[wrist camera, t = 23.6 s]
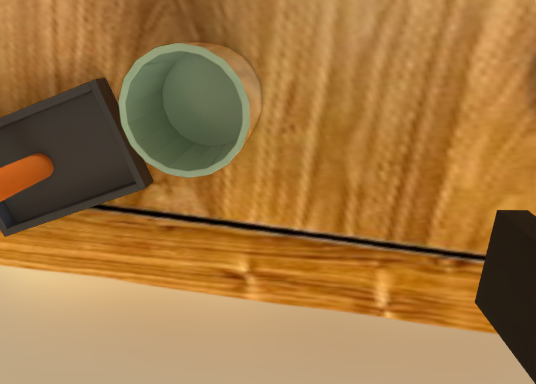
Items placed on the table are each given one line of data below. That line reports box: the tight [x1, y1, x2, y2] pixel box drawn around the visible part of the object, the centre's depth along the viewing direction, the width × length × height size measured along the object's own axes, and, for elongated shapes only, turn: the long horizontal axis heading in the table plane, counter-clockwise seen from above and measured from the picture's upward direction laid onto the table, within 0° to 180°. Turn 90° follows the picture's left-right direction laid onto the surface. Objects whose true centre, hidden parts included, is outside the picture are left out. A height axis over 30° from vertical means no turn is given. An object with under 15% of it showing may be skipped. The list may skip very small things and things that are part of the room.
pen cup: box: [119, 43, 262, 178], centre depth 33 cm, size 9×9×8 cm
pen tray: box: [0, 78, 153, 237], centre depth 39 cm, size 15×10×2 cm, turn 110°
